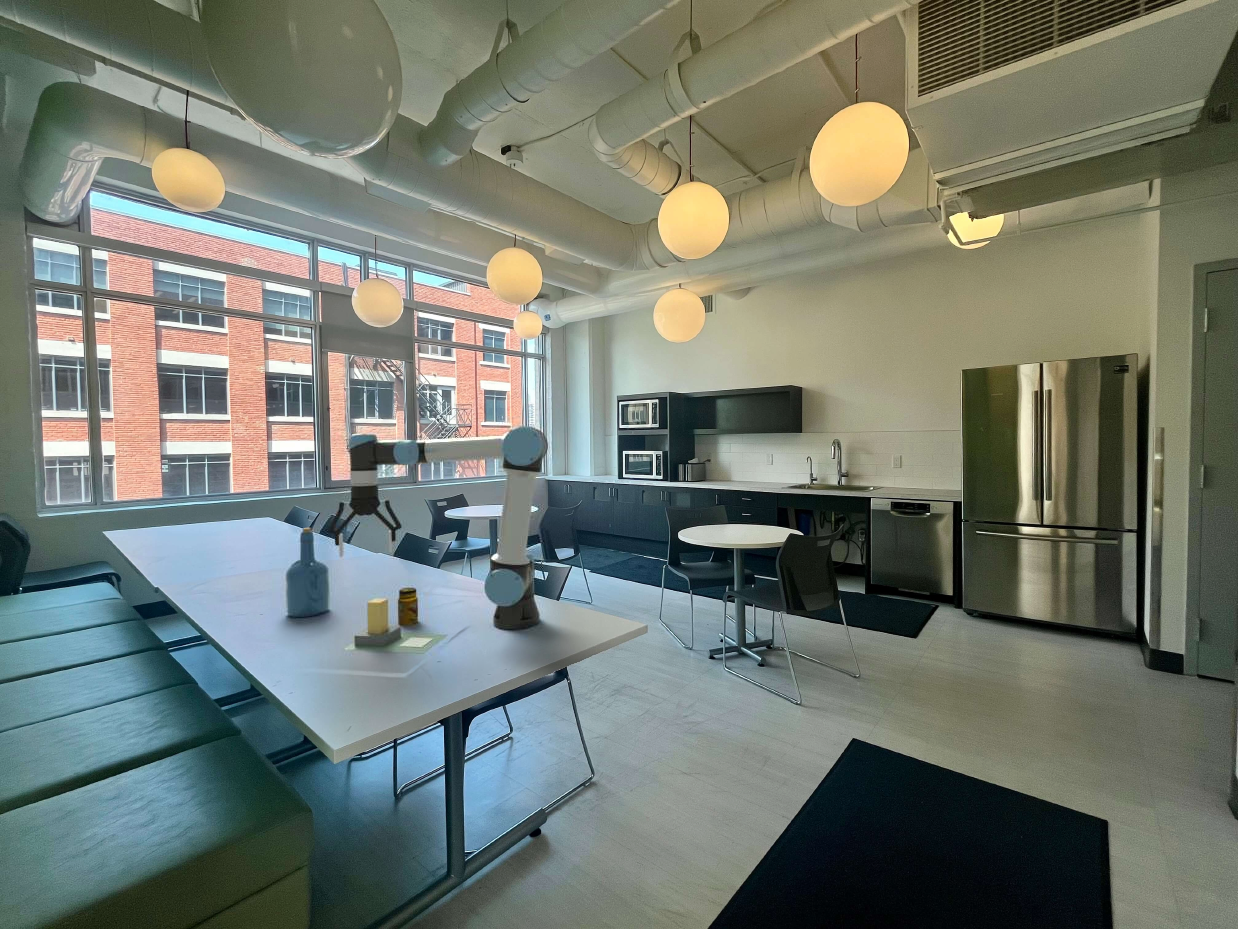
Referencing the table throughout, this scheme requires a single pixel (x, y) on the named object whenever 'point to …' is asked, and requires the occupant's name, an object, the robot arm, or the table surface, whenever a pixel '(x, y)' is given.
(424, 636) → the green board with socket
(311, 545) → the wine bottle
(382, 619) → the plug
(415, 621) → the condiment
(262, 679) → the table surface
